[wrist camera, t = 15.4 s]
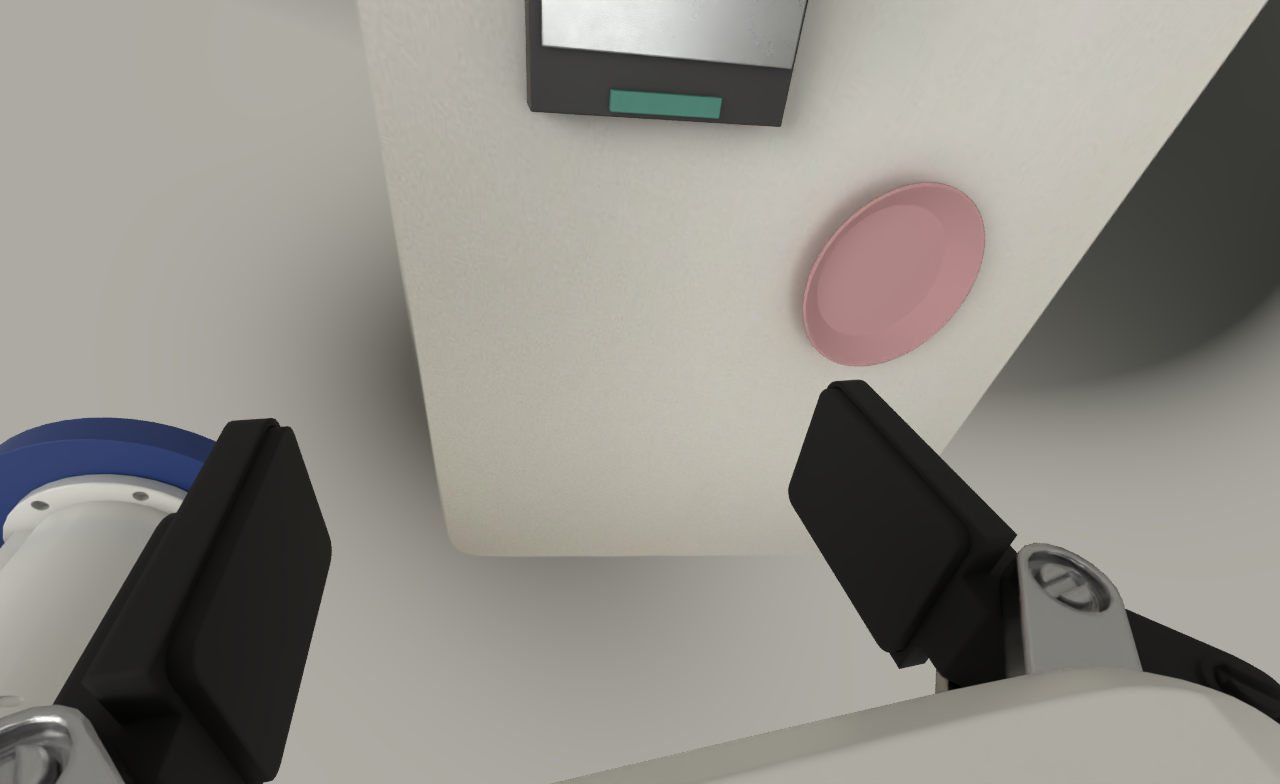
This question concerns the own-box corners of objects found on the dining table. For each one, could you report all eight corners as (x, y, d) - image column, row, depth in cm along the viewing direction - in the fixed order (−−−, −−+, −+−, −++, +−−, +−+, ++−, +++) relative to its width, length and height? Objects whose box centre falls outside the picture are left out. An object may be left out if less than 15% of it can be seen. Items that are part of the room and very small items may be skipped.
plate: (754, 291, 40) (765, 304, 39) (913, 128, 36) (933, 134, 34) (853, 381, 48) (866, 394, 46) (994, 255, 44) (1013, 265, 42)
